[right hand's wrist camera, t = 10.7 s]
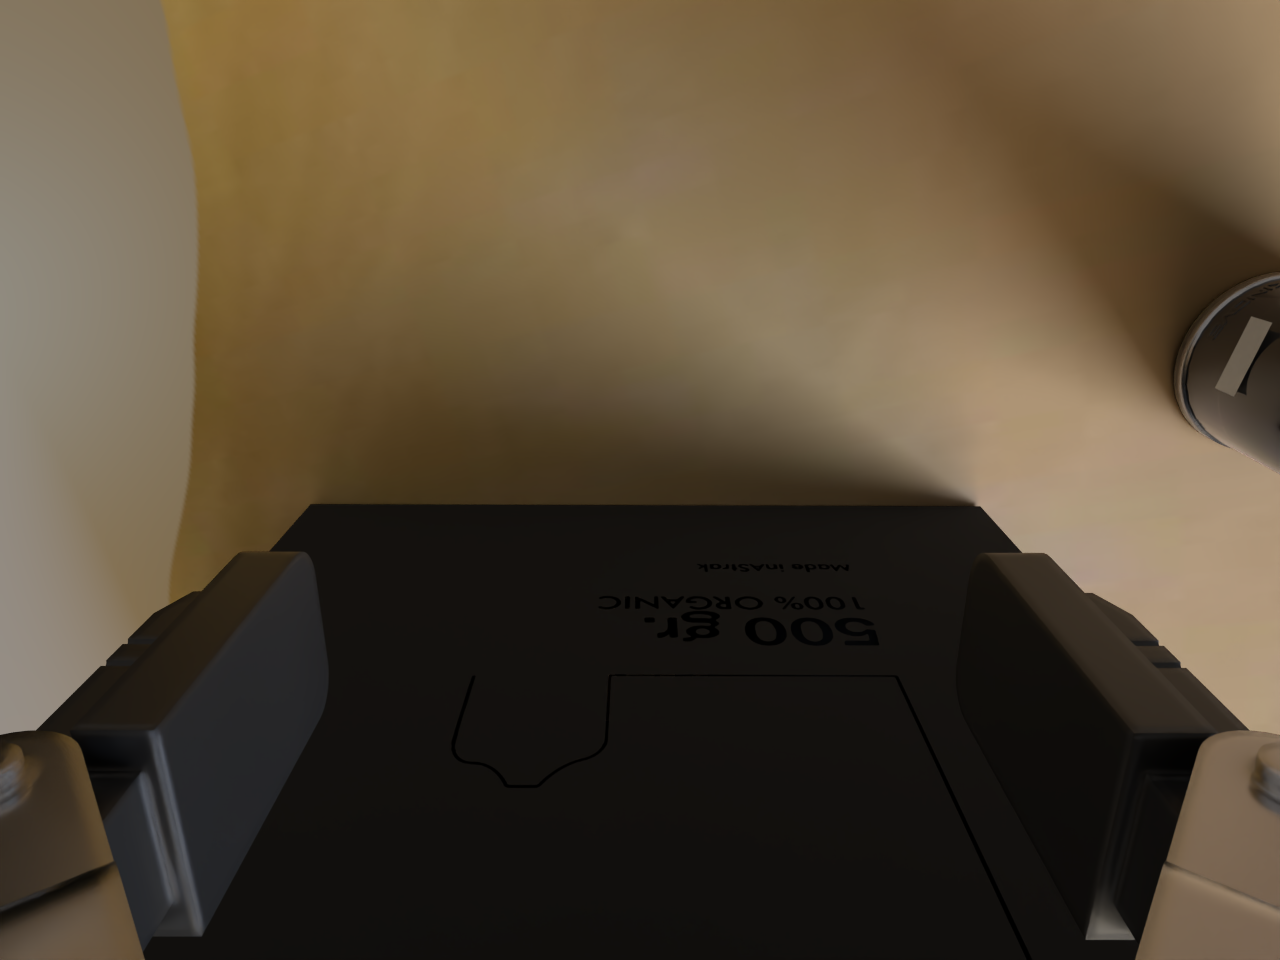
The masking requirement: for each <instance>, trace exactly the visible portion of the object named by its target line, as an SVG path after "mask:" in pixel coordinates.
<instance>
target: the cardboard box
mask: <svg viewBox="0 0 1280 960" xmlns="http://www.w3.org/2000/svg"><path fill="white" fill-rule="evenodd" d="M269 552H305V553H307V554H308V555H309V556H310V558H311V560H312V562H313V565H314V569H315V574H316V581H317V588H318V595H319V602H320V609H321V616H322V623H323V630H324V637H325V644H326V651H327V658H328V666H329V685H328V693H327V699H326V704H325V707H324V710H323V713H322V716H321V718H320V720H319V722H318V723H317V725H316V727H315V729H314V731H313V733H312V734H311V736H310V738H309V740H308V742H307V744H306V746H305V747H304V749H303V751H302V753H301V755H300V757H299V758H298V760H297V762H296V764H295V766H294V768H293V769H292V771H291V773H290V775H289V777H288V779H287V781H286V782H285V784H284V786H283V788H282V790H281V792H280V793H279V795H278V797H277V799H276V801H275V803H274V804H273V806H272V808H271V810H270V812H269V814H268V815H267V817H266V819H265V821H264V823H263V825H262V827H261V828H260V830H259V832H258V834H257V836H256V838H255V839H254V841H253V843H252V845H251V847H250V849H249V850H248V852H247V854H246V856H245V858H244V860H243V861H242V863H241V865H240V867H239V869H238V871H237V873H236V874H235V876H234V878H233V880H232V882H231V884H230V885H229V887H228V889H227V891H226V893H225V895H224V896H223V898H222V900H221V902H220V904H219V906H218V908H217V909H216V911H215V913H214V915H213V917H212V919H211V920H210V922H209V924H208V926H207V928H206V930H205V931H204V933H203V935H202V936H152V938H151V940H150V941H149V943H148V945H147V946H146V948H145V950H144V951H143V955H144V958H145V960H1135V958H1136V955H1137V952H1138V948H1139V945H1138V943H1137V942H1136V940H1085V938H1084V936H1083V934H1082V933H1081V931H1080V929H1079V927H1078V925H1077V924H1076V922H1075V920H1074V918H1073V916H1072V914H1071V913H1070V911H1069V909H1068V907H1067V905H1066V904H1065V902H1064V900H1063V898H1062V896H1061V894H1060V893H1059V891H1058V889H1057V887H1056V885H1055V884H1054V882H1053V880H1052V878H1051V876H1050V874H1049V873H1048V871H1047V869H1046V867H1045V865H1044V864H1043V862H1042V860H1041V858H1040V856H1039V854H1038V853H1037V851H1036V849H1035V847H1034V845H1033V844H1032V842H1031V840H1030V838H1029V836H1028V834H1027V833H1026V831H1025V829H1024V827H1023V825H1022V824H1021V822H1020V820H1019V818H1018V816H1017V814H1016V813H1015V811H1014V809H1013V807H1012V805H1011V804H1010V802H1009V800H1008V798H1007V796H1006V794H1005V793H1004V791H1003V789H1002V787H1001V785H1000V784H999V782H998V780H997V778H996V776H995V774H994V773H993V771H992V769H991V767H990V765H989V764H988V762H987V760H986V758H985V756H984V754H983V753H982V751H981V749H980V747H979V745H978V744H977V742H976V740H975V738H974V736H973V734H972V733H971V731H970V729H969V727H968V725H967V724H966V722H965V720H964V718H963V715H962V713H961V710H960V706H959V702H958V697H957V689H956V665H957V658H958V651H959V644H960V637H961V630H962V623H963V617H964V610H965V603H966V596H967V589H968V582H969V576H970V570H971V567H972V564H973V561H974V560H975V558H976V556H978V555H979V554H981V553H1022V552H1021V551H1020V550H1019V549H1018V548H1017V547H1016V546H1015V544H1014V543H1013V542H1012V541H1011V540H1010V539H1009V538H1008V537H1007V536H1006V534H1005V533H1004V532H1003V531H1002V530H1001V529H1000V528H999V527H998V526H997V524H996V523H995V522H994V521H993V520H992V519H991V518H990V517H989V516H988V515H987V513H986V512H985V511H984V510H983V509H982V508H981V507H980V506H679V505H372V504H311V505H310V506H309V507H308V508H307V509H306V510H305V511H304V513H303V514H302V515H301V516H300V517H299V518H298V519H297V521H296V522H295V523H294V524H293V525H292V526H291V527H290V528H289V530H288V531H287V532H286V533H285V534H284V535H283V536H282V538H281V539H280V540H279V541H278V542H277V543H276V544H275V546H274V547H273V548H272V549H271V550H270V551H269ZM626 596H627V598H626V599H625V597H626ZM635 597H636V598H640V600H638V601H636V600H635ZM666 598H667V599H669V601H667V599H666ZM600 608H607V609H600ZM613 608H614V609H613ZM626 608H629V609H626ZM637 608H639V609H637ZM651 618H653V619H652V620H651ZM667 618H669V619H668V620H667ZM673 618H677V621H676V620H674V619H673ZM681 618H682V619H681ZM610 674H613V675H616V676H611V692H610V711H609V720H607V721H606V710H607V692H608V675H610ZM627 674H653V675H654V676H626V675H627ZM660 675H675V676H660ZM693 675H708V676H693Z"/></svg>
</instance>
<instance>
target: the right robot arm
mask: <svg viewBox="0 0 1280 960" xmlns="http://www.w3.org/2000/svg"><path fill="white" fill-rule="evenodd" d="M1174 389H1175V395H1176V399H1177V402H1178V405H1179V407H1180V409H1181V412H1182V413H1183V415H1184V417H1185V418H1186V419H1187V421H1188V422H1189V423H1190V424H1191V425H1192V426H1193V427H1194V428H1195V429H1196V430H1197V431H1198V432H1200V433H1201V434H1203V435H1204V436H1206V437H1208V438H1210V439H1211V440H1213V441H1215V442H1217V443H1219V444H1221V445H1224V446H1226V447H1229V448H1232V449H1234V450H1236V451H1238V452H1240V453H1242V454H1244V455H1245V456H1247V457H1249V458H1251V459H1252V460H1254V461H1256V462H1258V463H1260V464H1262V465H1263V466H1265V467H1267V468H1269V469H1271V470H1273V471H1275V472H1276V473H1278V474H1280V272H1274V273H1268V274H1264V275H1260V276H1257V277H1254V278H1251V279H1248V280H1246V281H1244V282H1242V283H1240V284H1237V285H1236V286H1234V287H1232V288H1230V289H1229V290H1227V291H1226V292H1224V293H1223V294H1221V295H1220V296H1219V297H1218V298H1216V299H1215V300H1214V301H1213V302H1212V303H1211V304H1210V305H1209V306H1207V307H1206V308H1205V309H1204V311H1203V312H1202V313H1201V314H1200V315H1199V316H1198V318H1197V319H1196V320H1195V321H1194V323H1193V324H1192V326H1191V327H1190V329H1189V330H1188V332H1187V334H1186V336H1185V338H1184V340H1183V342H1182V344H1181V347H1180V349H1179V352H1178V355H1177V359H1176V364H1175V370H1174ZM106 662H107V663H106V666H100V667H99V668H98V669H97V670H96V671H95V672H94V673H93V674H92V675H91V676H90V677H89V678H88V679H87V680H86V681H85V682H84V683H83V684H82V685H81V686H80V687H79V688H78V689H77V690H76V691H75V692H74V693H73V694H72V695H71V696H70V697H69V698H68V699H67V700H66V701H65V702H64V703H63V704H62V705H61V706H60V707H59V708H58V709H57V710H56V711H55V712H54V713H53V714H52V715H51V716H50V717H49V718H48V719H47V720H46V721H45V722H44V723H43V724H42V725H41V726H40V727H39V728H38V729H37V730H36V731H22V732H13V733H8V734H3V735H0V960H145V958H144V955H143V951H144V950H145V948H146V946H147V945H148V943H149V941H150V940H151V938H152V936H202V935H203V933H204V931H205V930H206V928H207V926H208V924H209V922H210V920H211V919H212V917H213V915H214V913H215V911H216V909H217V908H218V906H219V904H220V902H221V900H222V898H223V896H224V895H225V893H226V891H227V889H228V887H229V885H230V884H231V882H232V880H233V878H234V876H235V874H236V873H237V871H238V869H239V867H240V865H241V863H242V861H243V860H244V858H245V856H246V854H247V852H248V850H249V849H250V847H251V845H252V843H253V841H254V839H255V838H256V836H257V834H258V832H259V830H260V828H261V827H262V825H263V823H264V821H265V819H266V817H267V815H268V814H269V812H270V810H271V808H272V806H273V804H274V803H275V801H276V799H277V797H278V795H279V793H280V792H281V790H282V788H283V786H284V784H285V782H286V781H287V779H288V777H289V775H290V773H291V771H292V769H293V768H294V766H295V764H296V762H297V760H298V758H299V757H300V755H301V753H302V751H303V749H304V747H305V746H306V744H307V742H308V740H309V738H310V736H311V734H312V733H313V731H314V729H315V727H316V725H317V723H318V722H319V720H320V718H321V716H322V713H323V710H324V707H325V704H326V699H327V693H328V685H329V666H328V658H327V651H326V644H325V637H324V630H323V623H322V616H321V609H320V602H319V595H318V588H317V581H316V574H315V569H314V565H313V562H312V560H311V558H310V556H309V555H308V554H307V553H305V552H240V553H238V554H237V555H236V556H235V557H234V558H233V559H232V560H231V561H230V562H229V563H228V564H227V565H226V566H225V567H224V568H223V569H222V570H221V571H220V572H219V574H218V575H217V576H216V577H215V578H214V579H213V580H212V581H211V582H210V583H209V584H208V585H207V586H206V587H205V588H204V589H203V590H202V591H201V592H192V593H190V594H188V595H186V596H184V597H182V598H181V599H179V600H177V601H175V602H173V603H172V604H170V605H168V606H166V607H164V608H163V609H161V610H159V611H157V612H155V613H154V614H153V615H152V616H151V617H150V618H149V619H148V620H147V621H146V622H145V623H144V624H143V625H142V626H140V627H139V628H138V630H136V631H135V632H134V633H133V634H132V635H131V636H130V637H129V639H128V644H122V645H121V646H120V647H119V648H118V649H117V650H116V651H115V652H114V653H113V654H112V655H111V656H110V657H109V658H108V659H107V661H106ZM1180 663H1181V662H1180V661H1179V660H1178V659H1177V658H1175V657H1174V656H1173V655H1172V654H1171V653H1170V652H1169V651H1168V650H1167V649H1166V648H1165V647H1164V646H1159V644H1158V640H1157V639H1156V638H1155V637H1154V636H1153V635H1152V634H1151V633H1150V632H1149V631H1148V630H1147V629H1146V628H1145V627H1144V626H1143V625H1142V624H1141V623H1140V622H1139V621H1138V620H1137V619H1136V618H1135V617H1134V616H1133V615H1131V614H1130V613H1128V612H1126V611H1124V610H1122V609H1121V608H1119V607H1117V606H1115V605H1113V604H1111V603H1110V602H1108V601H1106V600H1104V599H1102V598H1101V597H1099V596H1097V595H1095V594H1093V593H1084V592H1083V591H1082V590H1081V589H1080V588H1079V587H1078V586H1077V585H1076V584H1075V582H1074V581H1073V580H1072V579H1071V578H1070V577H1069V576H1068V575H1067V574H1066V573H1065V572H1064V571H1063V570H1062V569H1061V568H1060V567H1059V566H1058V565H1057V564H1056V563H1055V562H1054V561H1053V560H1052V559H1051V557H1049V556H1048V555H1047V554H1044V553H981V554H979V555H978V556H976V558H975V560H974V561H973V564H972V567H971V570H970V576H969V582H968V589H967V596H966V603H965V610H964V617H963V623H962V630H961V637H960V644H959V651H958V658H957V665H956V689H957V697H958V702H959V706H960V710H961V713H962V715H963V718H964V720H965V722H966V724H967V725H968V727H969V729H970V731H971V733H972V734H973V736H974V738H975V740H976V742H977V744H978V745H979V747H980V749H981V751H982V753H983V754H984V756H985V758H986V760H987V762H988V764H989V765H990V767H991V769H992V771H993V773H994V774H995V776H996V778H997V780H998V782H999V784H1000V785H1001V787H1002V789H1003V791H1004V793H1005V794H1006V796H1007V798H1008V800H1009V802H1010V804H1011V805H1012V807H1013V809H1014V811H1015V813H1016V814H1017V816H1018V818H1019V820H1020V822H1021V824H1022V825H1023V827H1024V829H1025V831H1026V833H1027V834H1028V836H1029V838H1030V840H1031V842H1032V844H1033V845H1034V847H1035V849H1036V851H1037V853H1038V854H1039V856H1040V858H1041V860H1042V862H1043V864H1044V865H1045V867H1046V869H1047V871H1048V873H1049V874H1050V876H1051V878H1052V880H1053V882H1054V884H1055V885H1056V887H1057V889H1058V891H1059V893H1060V894H1061V896H1062V898H1063V900H1064V902H1065V904H1066V905H1067V907H1068V909H1069V911H1070V913H1071V914H1072V916H1073V918H1074V920H1075V922H1076V924H1077V925H1078V927H1079V929H1080V931H1081V933H1082V934H1083V936H1084V938H1085V940H1136V942H1137V943H1138V945H1139V948H1138V952H1137V955H1136V958H1135V960H1280V735H1277V734H1272V733H1267V732H1259V731H1250V730H1249V729H1248V728H1247V727H1246V726H1245V725H1243V724H1242V723H1241V722H1240V721H1239V720H1238V719H1237V718H1236V717H1235V716H1234V715H1233V714H1232V713H1231V712H1230V711H1229V710H1228V709H1227V708H1226V707H1225V706H1224V705H1223V704H1222V703H1221V702H1220V701H1219V700H1218V699H1217V698H1216V697H1215V696H1214V695H1213V694H1212V693H1211V692H1210V691H1209V690H1208V689H1207V688H1206V687H1205V686H1204V685H1203V684H1202V683H1201V682H1200V681H1199V680H1198V679H1197V678H1196V677H1195V676H1194V675H1193V674H1192V673H1191V672H1190V671H1189V670H1188V669H1187V668H1181V666H1180Z"/></svg>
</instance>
